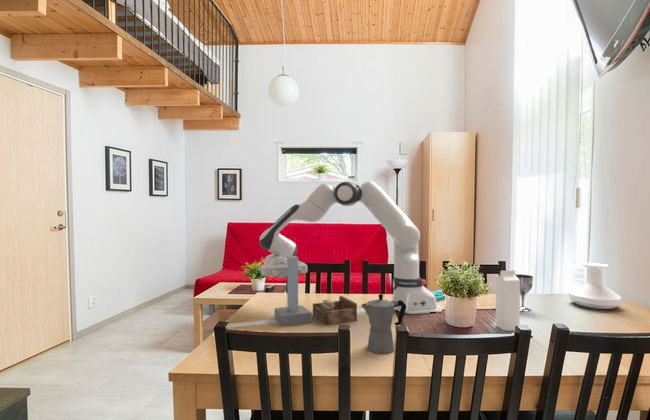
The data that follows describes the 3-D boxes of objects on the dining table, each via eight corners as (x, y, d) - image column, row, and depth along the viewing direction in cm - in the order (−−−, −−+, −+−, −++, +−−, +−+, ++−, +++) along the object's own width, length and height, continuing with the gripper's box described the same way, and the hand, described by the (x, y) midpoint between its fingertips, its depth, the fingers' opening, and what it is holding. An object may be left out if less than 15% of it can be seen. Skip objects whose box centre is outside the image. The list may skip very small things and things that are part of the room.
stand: (301, 314, 162) (301, 305, 162) (311, 322, 151) (311, 312, 151) (274, 317, 157) (274, 308, 157) (282, 326, 146) (282, 316, 146)
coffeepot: (365, 356, 117) (365, 298, 117) (357, 345, 126) (357, 291, 126) (412, 352, 120) (412, 296, 120) (400, 341, 129) (400, 289, 129)
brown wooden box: (341, 311, 166) (341, 295, 166) (356, 320, 153) (356, 303, 153) (312, 315, 160) (312, 299, 160) (325, 325, 147) (325, 307, 147)
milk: (519, 330, 141) (520, 271, 140) (504, 331, 140) (505, 272, 140) (509, 325, 147) (510, 269, 146) (495, 325, 146) (496, 269, 146)
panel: (294, 308, 157) (294, 255, 156) (298, 311, 152) (298, 257, 152) (287, 309, 155) (287, 256, 155) (291, 312, 151) (290, 257, 151)
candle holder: (612, 314, 161) (613, 269, 160) (561, 304, 177) (561, 263, 176) (628, 307, 172) (628, 265, 172) (578, 298, 189) (578, 260, 188)
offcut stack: (327, 315, 160) (327, 298, 160) (335, 321, 152) (335, 303, 152) (321, 316, 159) (321, 299, 158) (328, 322, 151) (328, 303, 151)
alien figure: (474, 304, 179) (463, 294, 199) (474, 299, 179) (463, 290, 199) (431, 303, 181) (424, 293, 201) (431, 298, 181) (424, 289, 201)
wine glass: (509, 308, 171) (509, 275, 171) (520, 305, 175) (520, 273, 174) (525, 312, 164) (525, 278, 164) (536, 310, 167) (537, 276, 167)
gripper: (257, 261, 166) (265, 266, 153) (301, 259, 174) (311, 263, 161) (257, 275, 166) (265, 281, 153) (301, 272, 174) (311, 278, 161)
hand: (289, 272), depth 157 cm, fingers open, 8 cm apart
